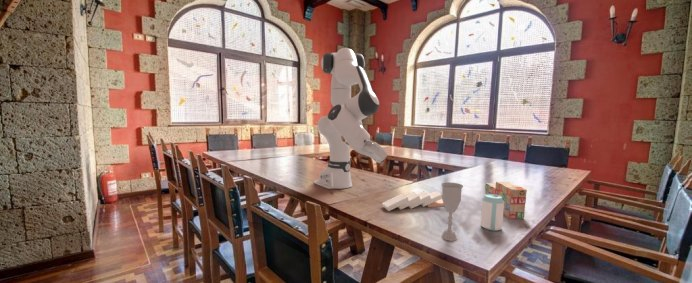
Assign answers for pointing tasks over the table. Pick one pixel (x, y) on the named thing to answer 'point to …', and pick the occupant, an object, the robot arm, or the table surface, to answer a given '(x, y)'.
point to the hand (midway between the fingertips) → (378, 161)
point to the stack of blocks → (509, 198)
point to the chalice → (451, 206)
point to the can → (492, 212)
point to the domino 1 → (395, 202)
